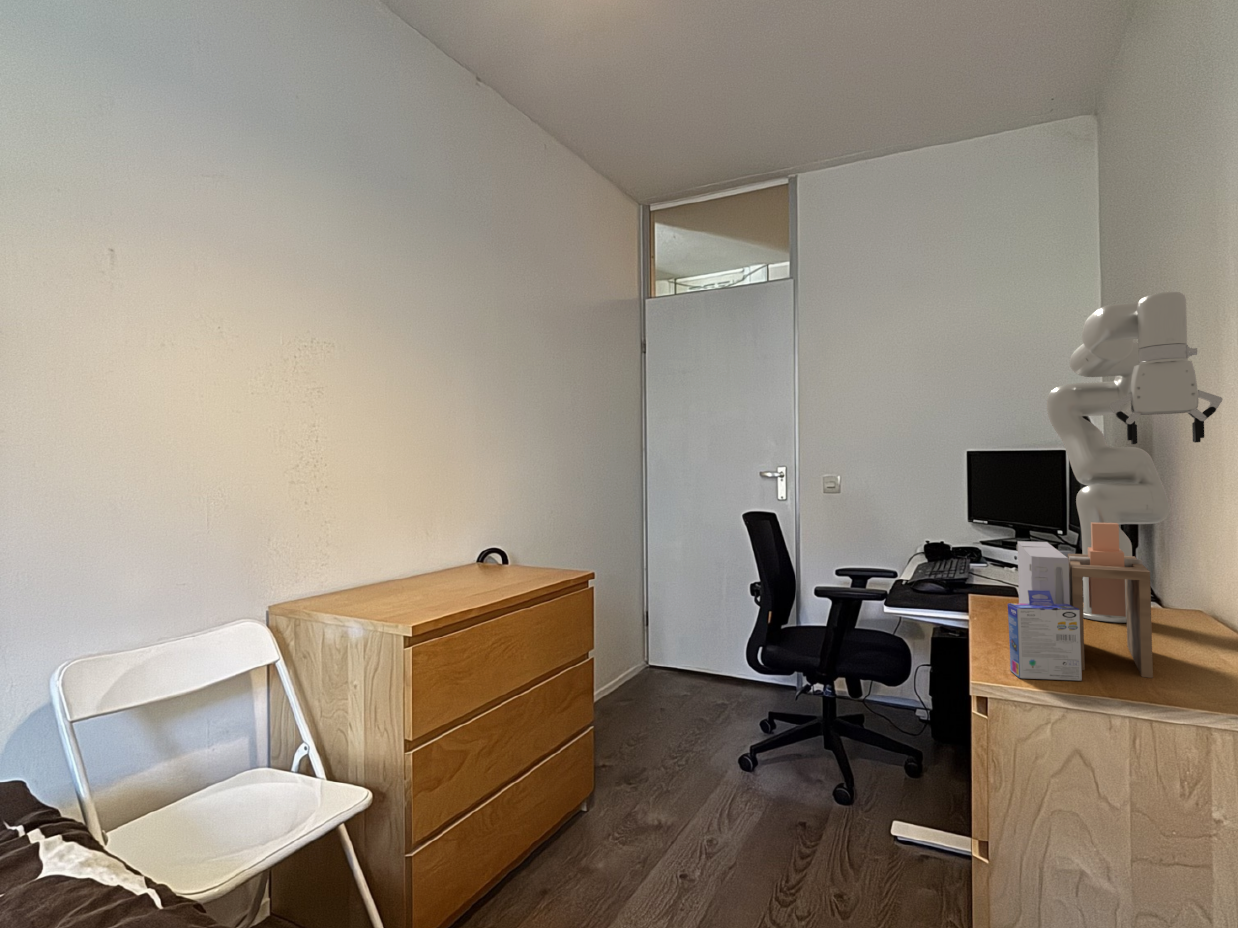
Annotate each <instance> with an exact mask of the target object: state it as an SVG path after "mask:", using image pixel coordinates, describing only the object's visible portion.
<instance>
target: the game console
mask: <svg viewBox="0 0 1238 928" xmlns="http://www.w3.org/2000/svg"><path fill="white" fill-rule="evenodd" d="M1016 551H1017V573H1018V603H1029V597H1028V590H1034V591H1050V594H1051V596H1052V600H1053V602H1054V604H1069V605H1070V600H1069V559H1068V556H1066V555H1065V554H1063V553H1062V552H1061V551H1059V550H1058V549H1057V548H1055V547H1054V546H1053V545H1052V544H1051V543H1049V542H1048V541H1025V540H1024V541H1021V540H1020V541H1019V540H1017V544H1016ZM1032 597H1033V598H1034V599H1048V597H1047V596H1045V595H1042V594H1037V595H1033V596H1032Z"/></svg>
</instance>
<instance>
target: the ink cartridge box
mask: <svg viewBox="0 0 1238 928" xmlns="http://www.w3.org/2000/svg"><path fill="white" fill-rule="evenodd" d="M1037 594H1042V595H1045V596H1047V597H1048V599H1034V598H1033V597H1032V596H1033V595H1037ZM1028 597H1029V603H1019V602H1018V603H1011V602H1010V603H1007V617H1008V635H1009V636H1008V637H1009V638H1008V639H1009V642H1008V643H1009V660H1010V661H1009V665H1010V667H1009V670H1010V672H1011V673H1012V674H1014V675H1015V676H1016V677H1017V678H1018V679H1032V680H1033V679H1035V680H1057V681H1079V682H1080V681H1081V682H1082V681H1083V680H1082V679H1083V676H1082V671H1083V670H1081V644H1080V610H1079V609H1078V608H1075V607H1073V606H1071V605H1069V604H1054V602H1053V600H1052V596H1051V594H1050V591H1034V590H1028Z"/></svg>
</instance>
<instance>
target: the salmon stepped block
mask: <svg viewBox="0 0 1238 928" xmlns="http://www.w3.org/2000/svg"><path fill="white" fill-rule="evenodd" d="M1119 528H1120V524H1117V523H1093V522H1091V547H1088V557H1089V558H1090V565H1097V566H1117V567H1125V566H1124V552H1123V551H1122V550H1121V549H1119ZM1088 581H1089V607H1090V608H1091V613H1092V614H1099V615H1112V616H1124V617H1126V603H1125V579H1112V578H1094V577H1088Z"/></svg>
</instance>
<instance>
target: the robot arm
mask: <svg viewBox="0 0 1238 928" xmlns="http://www.w3.org/2000/svg"><path fill="white" fill-rule="evenodd" d="M1187 320H1188V319H1187V299H1186V296H1185V294H1183V293H1181V292H1178V291H1165V292H1158V293H1157V292H1156V293H1153V294H1148V295H1146V296H1143V297H1142V298H1140V299H1139V301H1138V302H1126V303H1115V304H1107V305H1104V306H1101V307H1099V308H1097V309H1096V310H1095V311H1094V312H1092V313H1091V314H1090V315H1089V316H1087V319H1086V320H1085V321H1084V324H1083V328H1082V333H1081V334H1082V335H1081V338H1082V339H1081V340H1082V342H1083V343H1082V344H1081V345H1079V346H1077V348H1076V349H1075V350H1074V351H1073V353H1072V354H1071V355H1070V359H1069V366H1070V369H1071V371H1073V373H1075V374H1076V375H1079V376H1081V377H1085V378H1105V377H1114V380H1112V381H1097V382H1095V381H1094V382H1076V383H1067V384H1062V385H1059V386H1057V387H1055V388H1053V389H1051V391H1050V392H1049V393H1048V395H1047V399H1046V409H1047V410H1046V411H1047V416H1048V418H1049V419H1048V420H1049V421H1050V424H1051V426H1052V428H1053V429H1054V431H1055V433H1056V434H1057V435H1058V436H1059V438H1060V440H1061V441H1062V443H1063V445H1064V448H1065V451H1066V454H1067V457H1068V461H1069V463H1070V467H1071V469H1072V472H1073V475H1074V478H1075V479H1076V481H1077V482H1078V483H1079V484H1082V485H1084V486H1083V487H1082V488H1081V489H1080V490H1079V491H1078V493H1077V494H1076V497H1075V498H1076V499H1075V500H1076V501H1075V503H1076V509H1077V514H1078V518H1079V523H1080V531H1081V550H1082V553H1081V554H1088V547H1091V522H1093V523H1117V524H1119V525H1152V524H1159V523H1161V522H1164V521H1165V520H1166V519H1167V517H1168V516H1169V513H1170V502H1169V497H1168V495H1167V492H1166V489H1165V486H1164V484H1163V481H1162V479H1161V477H1160V474H1159V472H1158V470H1157V467H1156V465H1155V463H1154V461H1153V458H1152V456H1151V455H1150V454H1149V453H1148V452H1147V451H1146V450H1144V449H1142V448H1140V447H1135V446H1120V447H1119V446H1118V447H1117V446H1110V445H1108V443H1107V441H1106V438H1105V436H1104V433H1103V432H1102V430H1100V429H1099V428H1098V427H1097V426H1096V425H1095V424H1094V423H1092V422H1090V421H1089V420H1087V419H1085V418H1084V417H1095V416H1096V417H1097V416H1115V417H1116V418H1118V419H1119V420H1120V421H1121V422H1122V423H1124V424H1125V425H1126V439H1127V441H1130V444H1131V445H1136V444H1138V424H1136V420H1137V419H1139V418H1140V417H1141V416H1150V415H1151V416H1152V415H1172V414H1173V415H1174V414H1186V413H1187V414H1188V415H1189V416H1190V417H1192V418H1193V419H1194V420H1193V422H1192V423H1191V426H1192V427H1191V428H1192V430H1191V431H1192V442H1193V443H1201V439H1204V438H1205V421H1206V420H1207V419H1209V418H1210V417H1211V416H1212V415H1213V414H1214V413H1215V412H1216V411H1217V410H1218V408H1219V406H1220V405H1221V404H1222V402H1223V398H1222V397H1221V396H1218V395H1215V394H1213V393H1210V392H1207V391H1203V390H1201V389H1198V384H1197V383H1198V382H1197V375H1196V371H1195V368H1194V367H1195V366H1194V364H1193V361H1192V360H1188V359H1189V358H1190V357H1192V356H1197V355H1198V348H1197V347H1190V346H1189V344H1188V326H1187V324H1188V322H1187ZM1134 340H1137V341H1134ZM1199 399H1202V400H1205V401H1208V402H1209V405H1208V407H1207V408H1206V409H1205V410H1203V411H1201V410H1199V409H1198V407H1199ZM1128 410H1131V411H1130V412H1132V413H1131V414H1130V415H1127V414H1126V412H1127V411H1128ZM1119 549H1121V550H1122V551H1123V552H1124V556H1133V545H1132V542H1131V540H1130V538H1129V536H1127V535H1126V533H1125V532H1124V530H1122V528H1121V527H1119ZM1082 582H1083V619H1086V620H1087V619H1089V620H1093V621H1098V622H1099V621H1100V622H1106V623H1123V624H1125V623H1126V624H1127V612H1126V617H1124V616H1112V615H1099V614H1092V613H1091V608H1090V607H1089V581H1088V577H1082ZM1125 603H1126V579H1125Z"/></svg>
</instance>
